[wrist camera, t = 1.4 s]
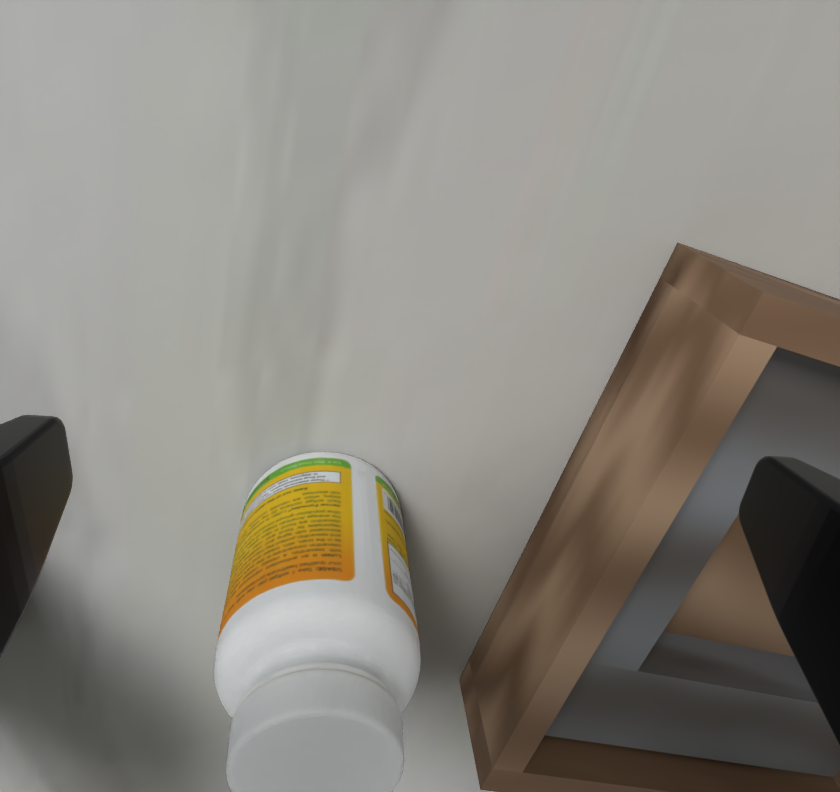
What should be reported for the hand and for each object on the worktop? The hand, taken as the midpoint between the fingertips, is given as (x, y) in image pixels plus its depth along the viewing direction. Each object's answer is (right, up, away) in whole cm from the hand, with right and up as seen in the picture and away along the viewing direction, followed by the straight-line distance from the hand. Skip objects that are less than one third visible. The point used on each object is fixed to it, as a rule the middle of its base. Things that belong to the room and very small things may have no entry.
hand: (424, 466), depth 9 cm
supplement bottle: (-4, -3, +17) cm, 17 cm away
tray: (+13, -5, +19) cm, 24 cm away
